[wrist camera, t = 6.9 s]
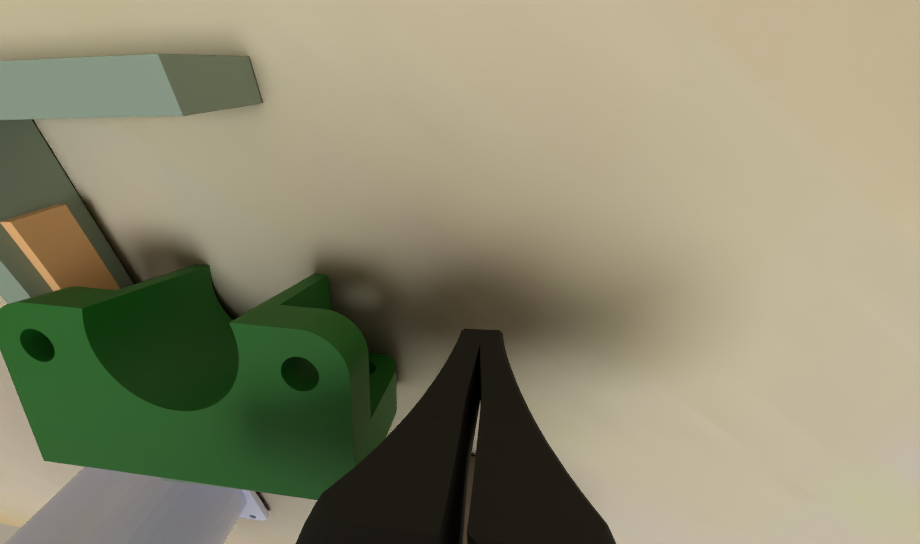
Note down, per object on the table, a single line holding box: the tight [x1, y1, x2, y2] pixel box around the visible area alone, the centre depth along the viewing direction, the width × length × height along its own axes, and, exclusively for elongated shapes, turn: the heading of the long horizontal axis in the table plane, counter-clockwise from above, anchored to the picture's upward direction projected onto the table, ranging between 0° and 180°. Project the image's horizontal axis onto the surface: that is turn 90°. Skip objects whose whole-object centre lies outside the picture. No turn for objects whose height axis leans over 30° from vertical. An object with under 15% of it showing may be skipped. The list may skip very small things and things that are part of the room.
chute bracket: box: [0, 54, 262, 492], centre depth 14 cm, size 10×18×3 cm, turn 2°
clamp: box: [0, 265, 397, 500], centre depth 13 cm, size 12×6×9 cm, turn 83°
